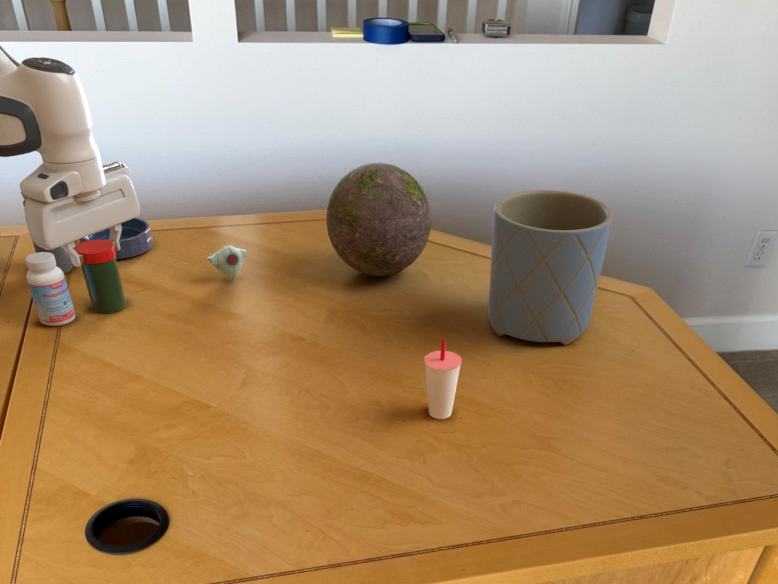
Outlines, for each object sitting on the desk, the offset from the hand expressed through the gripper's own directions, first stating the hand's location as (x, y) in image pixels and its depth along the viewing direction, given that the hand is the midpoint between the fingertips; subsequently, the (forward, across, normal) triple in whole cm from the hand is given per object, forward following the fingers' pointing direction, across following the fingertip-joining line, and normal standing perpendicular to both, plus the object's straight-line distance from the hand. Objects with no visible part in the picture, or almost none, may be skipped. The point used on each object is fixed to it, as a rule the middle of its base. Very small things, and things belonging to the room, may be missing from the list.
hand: (97, 257), depth 135 cm
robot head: (+9, -21, +10) cm, 25 cm away
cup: (+9, -5, +68) cm, 69 cm away
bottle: (+9, -5, -21) cm, 23 cm away
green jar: (+9, 0, 0) cm, 9 cm away
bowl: (+9, -19, -20) cm, 29 cm away
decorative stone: (+9, -41, +31) cm, 52 cm away
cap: (-2, 0, 0) cm, 2 cm away
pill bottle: (+9, +9, -3) cm, 13 cm away
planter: (+9, -39, +67) cm, 78 cm away
